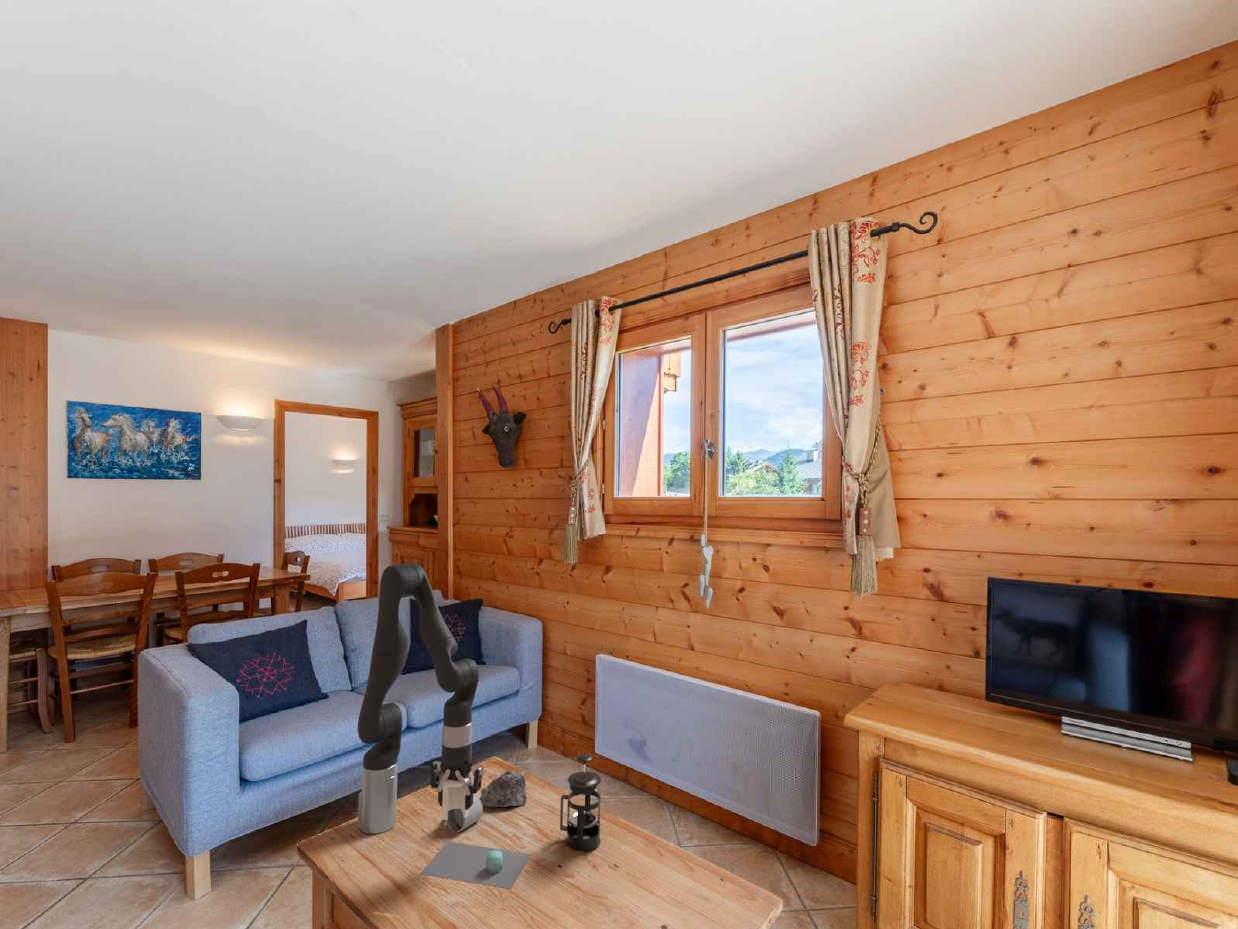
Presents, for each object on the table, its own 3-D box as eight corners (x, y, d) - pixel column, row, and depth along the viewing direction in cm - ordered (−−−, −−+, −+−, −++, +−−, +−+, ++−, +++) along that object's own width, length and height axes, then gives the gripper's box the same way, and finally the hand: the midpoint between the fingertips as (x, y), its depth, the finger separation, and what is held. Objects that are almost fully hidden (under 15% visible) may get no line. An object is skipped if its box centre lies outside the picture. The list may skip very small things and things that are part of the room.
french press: (605, 834, 166) (607, 750, 167) (599, 855, 157) (600, 766, 158) (564, 830, 168) (566, 747, 169) (556, 849, 159) (557, 762, 160)
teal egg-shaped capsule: (483, 873, 148) (483, 858, 148) (490, 863, 152) (490, 849, 152) (498, 875, 147) (498, 861, 147) (504, 865, 151) (505, 851, 151)
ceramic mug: (484, 822, 171) (485, 795, 172) (463, 836, 164) (464, 807, 165) (458, 812, 177) (458, 785, 177) (436, 825, 170) (437, 797, 170)
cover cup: (437, 819, 150) (438, 783, 150) (449, 806, 156) (450, 771, 157) (460, 822, 149) (461, 786, 149) (472, 809, 155) (473, 774, 155)
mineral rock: (477, 809, 178) (478, 775, 179) (493, 791, 189) (493, 759, 189) (517, 815, 175) (518, 780, 176) (531, 797, 186) (532, 764, 186)
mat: (419, 875, 147) (419, 873, 147) (447, 842, 161) (447, 841, 161) (511, 891, 142) (511, 889, 142) (531, 855, 156) (531, 854, 156)
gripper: (424, 743, 151) (422, 810, 150) (476, 749, 148) (474, 818, 147) (438, 731, 158) (437, 796, 158) (489, 737, 155) (487, 802, 155)
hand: (455, 806), depth 153 cm, fingers closed on cover cup, 6 cm apart
